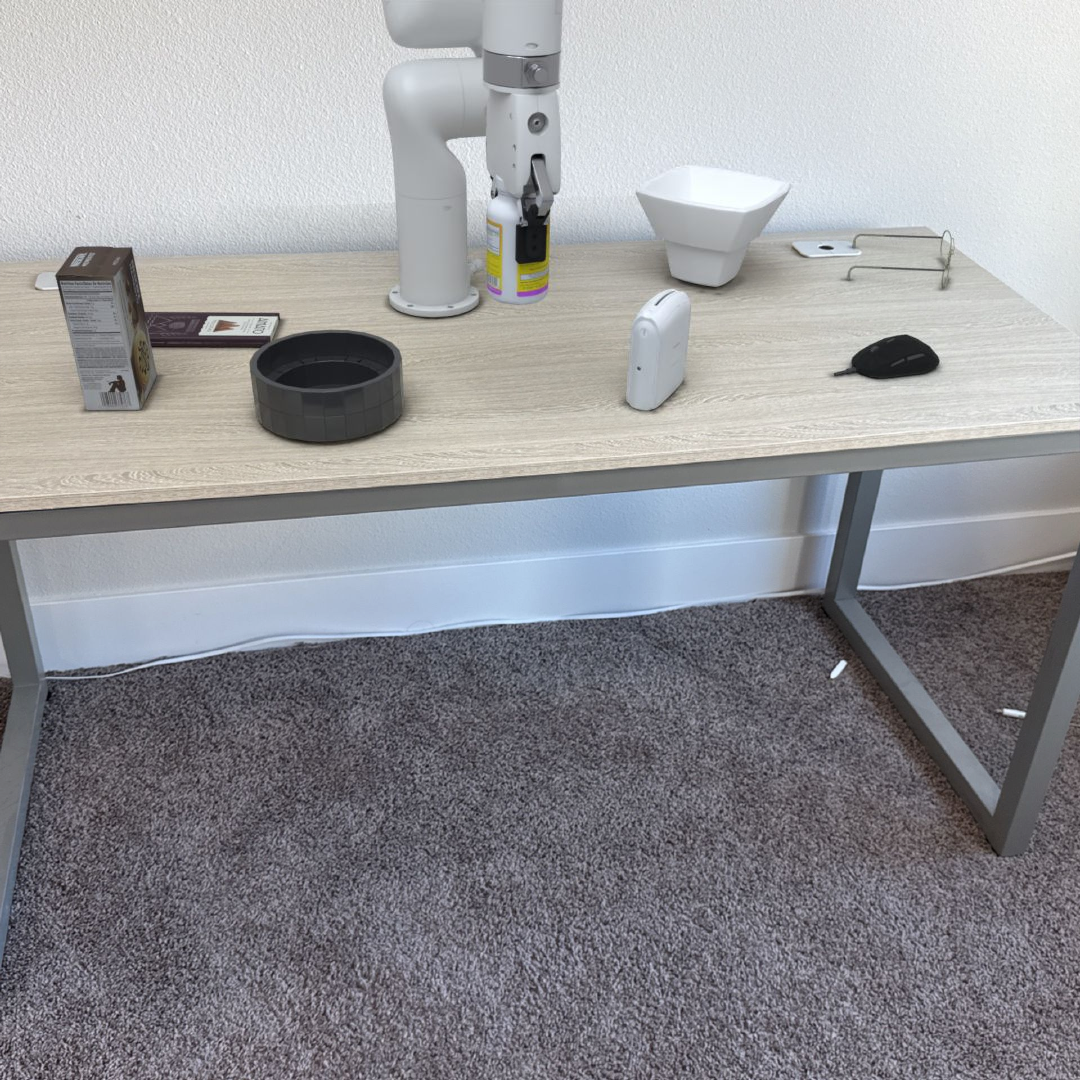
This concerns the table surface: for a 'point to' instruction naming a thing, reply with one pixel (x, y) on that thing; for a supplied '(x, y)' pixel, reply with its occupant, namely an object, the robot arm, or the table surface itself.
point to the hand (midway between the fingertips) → (517, 248)
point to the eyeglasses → (908, 268)
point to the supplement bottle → (511, 254)
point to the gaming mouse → (894, 358)
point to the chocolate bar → (211, 328)
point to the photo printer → (658, 349)
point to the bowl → (709, 218)
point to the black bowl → (327, 385)
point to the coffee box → (107, 327)
